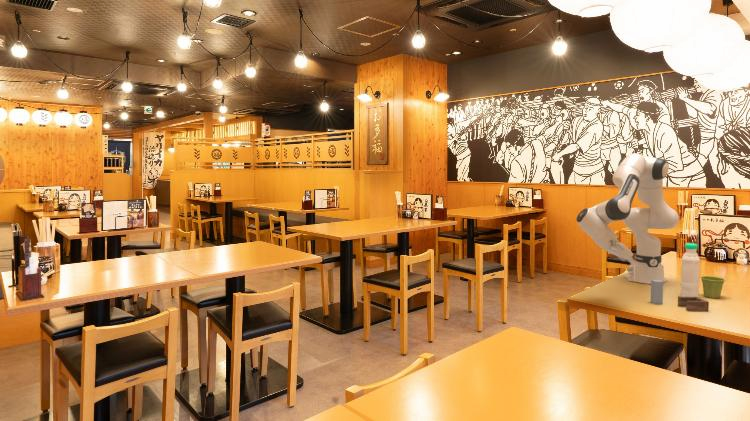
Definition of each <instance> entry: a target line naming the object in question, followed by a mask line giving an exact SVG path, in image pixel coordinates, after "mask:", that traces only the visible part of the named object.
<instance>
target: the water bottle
mask: <svg viewBox="0 0 750 421" xmlns="http://www.w3.org/2000/svg"><path fill="white" fill-rule="evenodd" d="M698 246H699V245H698V244H697V243H692V242H691V243H690V242H689V243H685V247H684V248H685V252H684V254H683V255H682V257H681V267H680V268H681V269H680V271H681V272H680V280H681V281H680V292H679V295H680V296H679V297H699V288H700V284H699V282H700V272H701V271H700V269H701V268H700V267H701V266H700V262H701V259H700V257H699V254H698V253H697V250H698ZM699 298H700V297H699Z"/></svg>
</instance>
